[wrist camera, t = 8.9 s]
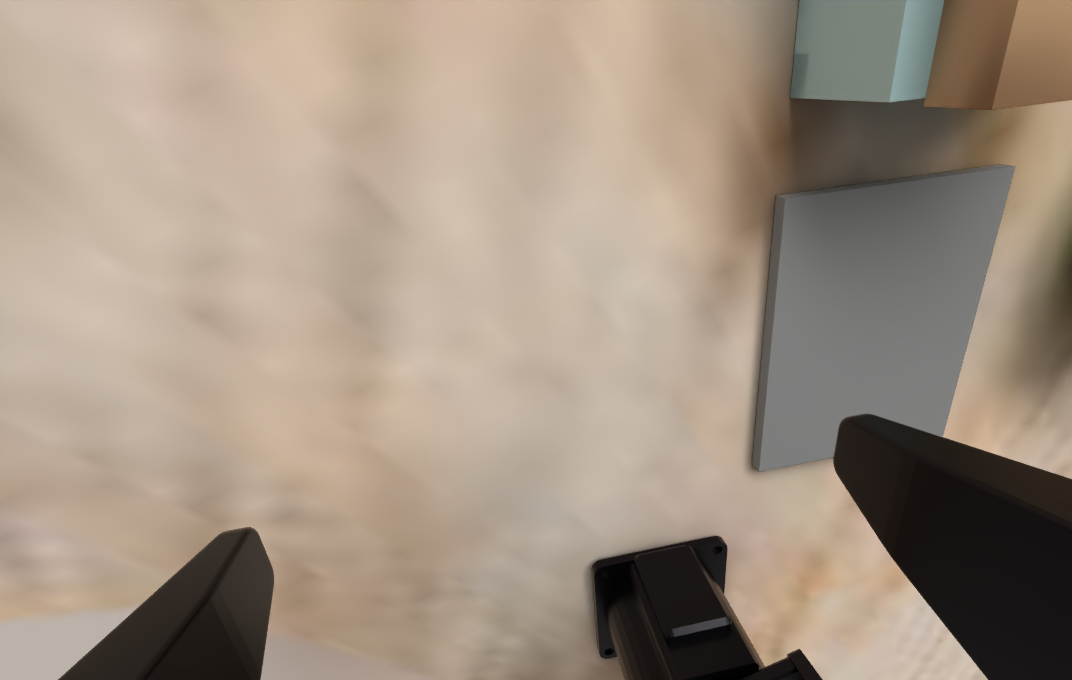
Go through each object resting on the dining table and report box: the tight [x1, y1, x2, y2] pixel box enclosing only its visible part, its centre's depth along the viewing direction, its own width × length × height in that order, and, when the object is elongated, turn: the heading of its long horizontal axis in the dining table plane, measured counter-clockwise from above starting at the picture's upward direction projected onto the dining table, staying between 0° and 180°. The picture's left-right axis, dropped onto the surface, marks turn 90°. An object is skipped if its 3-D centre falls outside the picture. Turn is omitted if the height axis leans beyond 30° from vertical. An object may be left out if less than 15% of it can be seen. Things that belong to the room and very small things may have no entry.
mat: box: [752, 164, 1015, 472], centre depth 23 cm, size 12×9×1 cm
